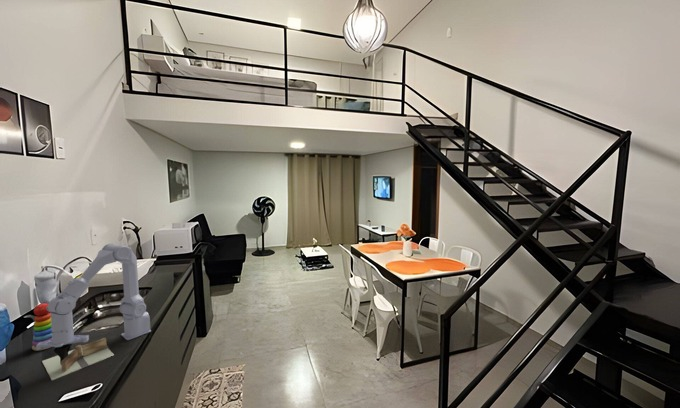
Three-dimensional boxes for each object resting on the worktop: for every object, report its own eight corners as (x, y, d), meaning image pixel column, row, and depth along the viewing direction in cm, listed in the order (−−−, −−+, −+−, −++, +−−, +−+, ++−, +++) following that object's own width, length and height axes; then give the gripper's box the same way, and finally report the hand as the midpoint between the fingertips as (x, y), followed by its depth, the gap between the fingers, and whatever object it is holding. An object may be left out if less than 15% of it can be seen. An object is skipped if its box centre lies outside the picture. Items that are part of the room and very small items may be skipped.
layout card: (101, 340, 125) (101, 339, 125) (115, 355, 115) (115, 354, 115) (42, 361, 110) (42, 360, 110) (52, 381, 100) (52, 380, 100)
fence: (105, 347, 120) (104, 335, 120) (107, 348, 119) (106, 337, 119) (74, 358, 112) (73, 346, 112) (76, 360, 111) (75, 348, 111)
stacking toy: (64, 340, 125) (60, 300, 124) (45, 351, 117) (42, 308, 116) (45, 341, 125) (42, 300, 123) (26, 351, 117) (22, 308, 115)
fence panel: (74, 359, 111) (73, 350, 111) (78, 358, 111) (78, 349, 111) (61, 371, 104) (60, 361, 103) (66, 370, 104) (65, 361, 104)
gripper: (29, 337, 99) (32, 374, 100) (82, 330, 105) (84, 364, 106) (42, 328, 106) (44, 362, 107) (90, 321, 111) (92, 354, 112)
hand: (64, 363), depth 107 cm, fingers closed, pressing on fence panel
